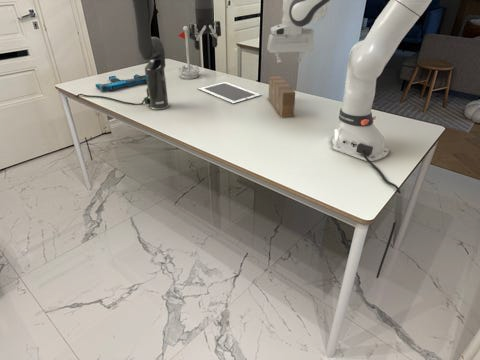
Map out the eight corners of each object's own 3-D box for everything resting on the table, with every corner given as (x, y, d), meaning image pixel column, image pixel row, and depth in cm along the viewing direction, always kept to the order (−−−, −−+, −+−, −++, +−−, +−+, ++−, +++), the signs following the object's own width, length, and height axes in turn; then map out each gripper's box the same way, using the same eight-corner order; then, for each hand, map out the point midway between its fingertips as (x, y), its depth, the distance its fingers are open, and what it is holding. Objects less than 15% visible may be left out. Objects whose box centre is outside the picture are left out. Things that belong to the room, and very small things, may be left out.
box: (293, 116, 163) (295, 92, 157) (281, 117, 162) (283, 93, 156) (278, 97, 185) (279, 75, 179) (268, 98, 185) (269, 76, 178)
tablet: (198, 89, 198) (198, 88, 197) (225, 82, 209) (225, 81, 209) (233, 103, 177) (233, 103, 177) (261, 95, 188) (261, 94, 188)
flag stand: (196, 72, 226) (193, 23, 210) (202, 77, 216) (198, 27, 200) (177, 74, 223) (172, 25, 206) (181, 80, 212) (177, 28, 196)
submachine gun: (140, 69, 224) (158, 75, 207) (141, 74, 225) (159, 81, 209) (88, 79, 205) (103, 86, 188) (89, 85, 207) (105, 93, 190)
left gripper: (213, 4, 144) (215, 44, 153) (184, 7, 137) (187, 49, 146) (223, 6, 139) (224, 47, 148) (193, 8, 132) (196, 52, 141)
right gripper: (312, 26, 149) (308, 59, 156) (267, 28, 146) (265, 61, 154) (317, 29, 144) (313, 62, 151) (270, 30, 141) (269, 64, 148)
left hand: (206, 48), depth 147 cm, fingers open, 8 cm apart
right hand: (289, 62), depth 152 cm, fingers open, 8 cm apart
